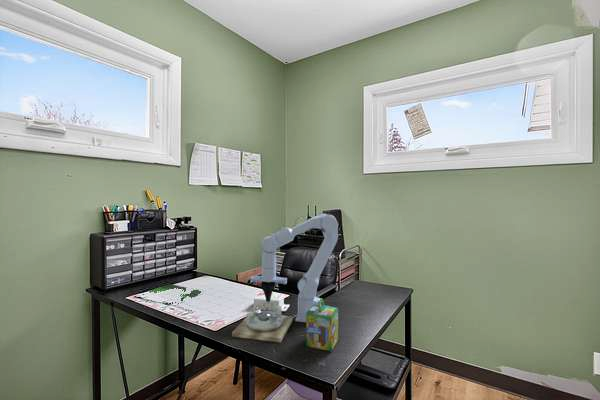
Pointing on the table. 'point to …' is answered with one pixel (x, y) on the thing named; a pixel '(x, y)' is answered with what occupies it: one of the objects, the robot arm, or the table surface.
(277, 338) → the base plate
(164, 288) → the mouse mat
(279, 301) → the ink cartridge box
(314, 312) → the chalk box
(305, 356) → the table surface
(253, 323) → the clear bowl
